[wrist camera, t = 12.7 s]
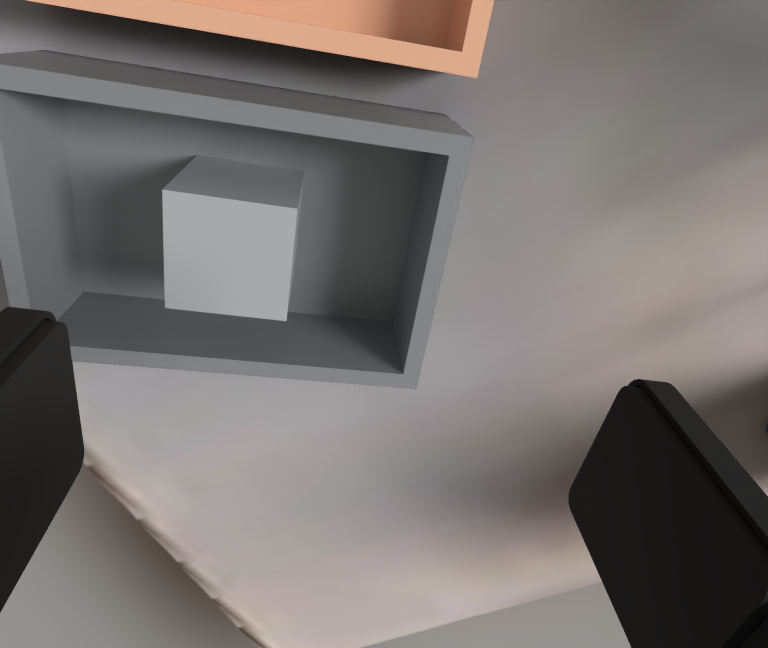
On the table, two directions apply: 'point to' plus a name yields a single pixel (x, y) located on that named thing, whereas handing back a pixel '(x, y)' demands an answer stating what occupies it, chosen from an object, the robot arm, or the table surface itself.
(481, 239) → the table surface
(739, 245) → the table surface
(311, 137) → the bin
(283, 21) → the trough
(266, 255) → the block
